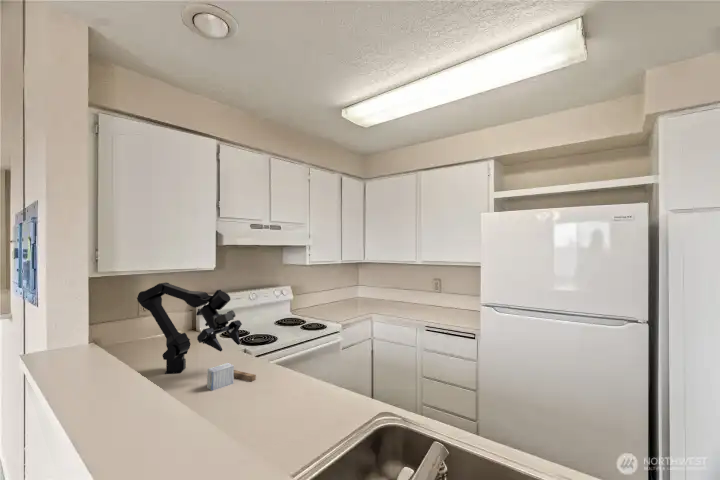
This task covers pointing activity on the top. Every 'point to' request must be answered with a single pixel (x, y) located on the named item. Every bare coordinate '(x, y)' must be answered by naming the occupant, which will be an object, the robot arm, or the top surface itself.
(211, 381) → the medicine box
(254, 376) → the walnut tipping strip
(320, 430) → the top surface
